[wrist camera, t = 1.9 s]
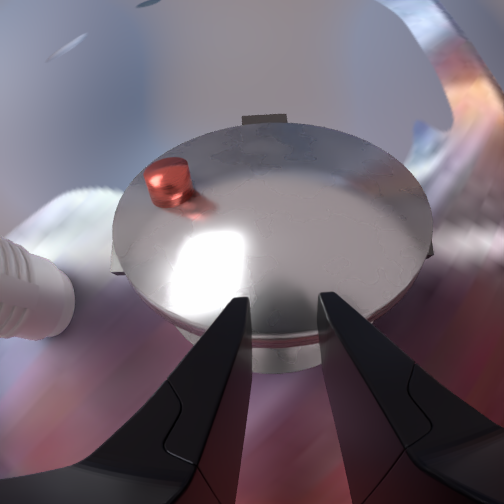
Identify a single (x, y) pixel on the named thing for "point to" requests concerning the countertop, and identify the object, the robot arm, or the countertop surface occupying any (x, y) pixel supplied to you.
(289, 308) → the cooker lid
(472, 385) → the countertop surface
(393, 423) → the robot arm
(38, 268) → the white cylinder
